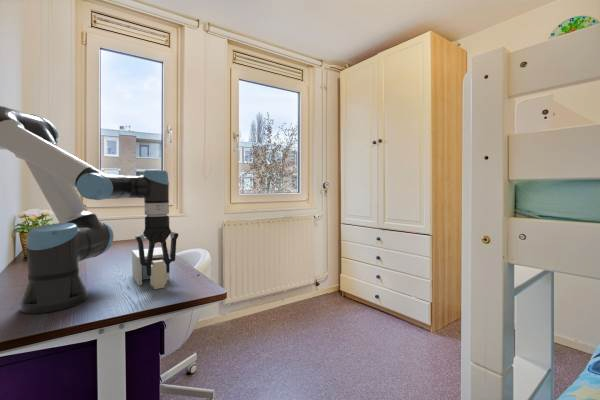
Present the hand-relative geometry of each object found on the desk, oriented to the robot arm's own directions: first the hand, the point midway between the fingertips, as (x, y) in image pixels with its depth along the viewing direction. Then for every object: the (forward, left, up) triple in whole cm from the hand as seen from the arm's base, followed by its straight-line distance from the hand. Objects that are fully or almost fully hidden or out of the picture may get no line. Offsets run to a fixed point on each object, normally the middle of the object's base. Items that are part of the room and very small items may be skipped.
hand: (158, 283), depth 101 cm
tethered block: (0, +8, -1) cm, 9 cm away
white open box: (0, +14, -2) cm, 14 cm away
